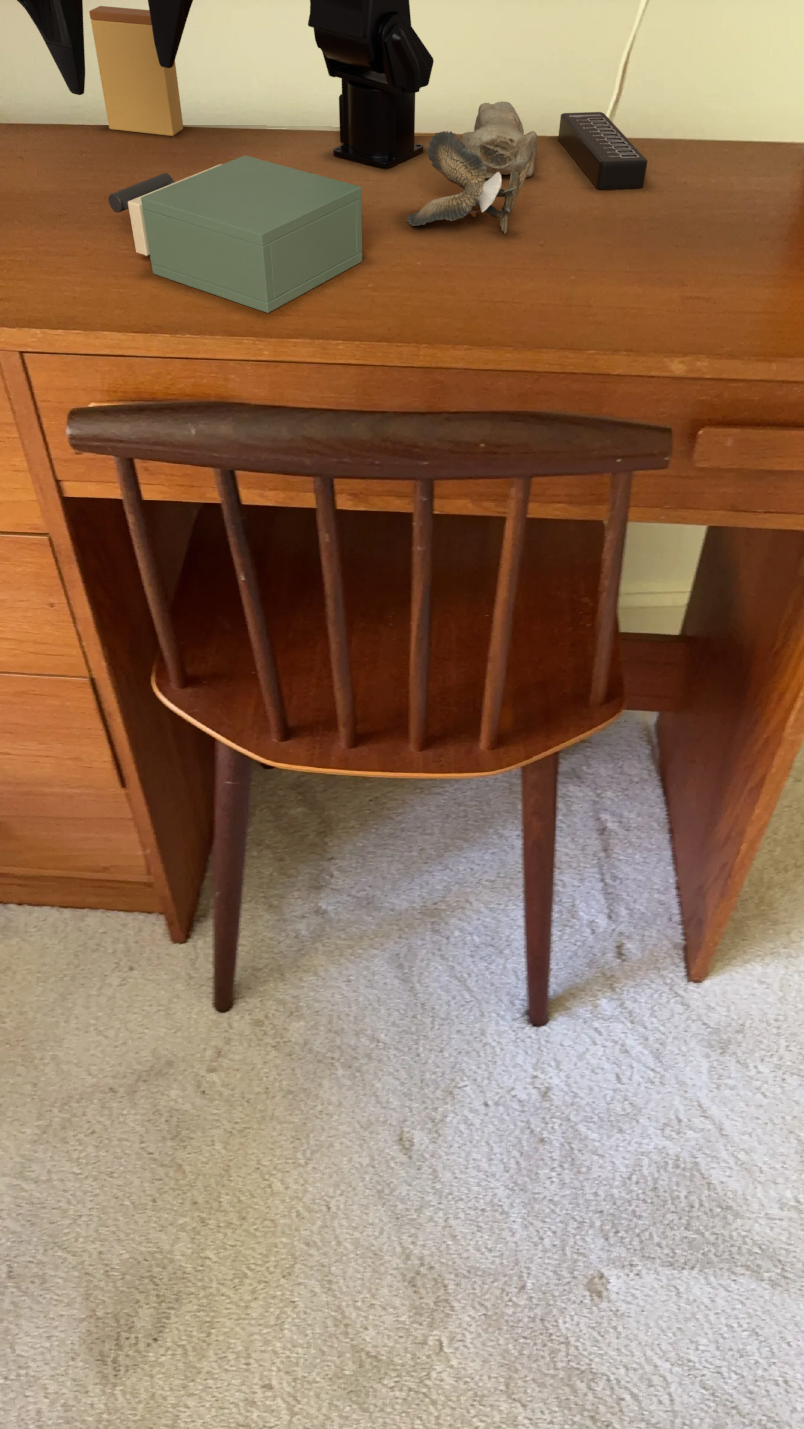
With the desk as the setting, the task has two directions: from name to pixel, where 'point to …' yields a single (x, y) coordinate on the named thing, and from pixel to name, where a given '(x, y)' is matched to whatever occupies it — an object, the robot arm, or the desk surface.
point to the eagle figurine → (466, 184)
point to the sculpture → (501, 140)
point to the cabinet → (254, 231)
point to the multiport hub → (602, 151)
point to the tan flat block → (134, 73)
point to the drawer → (140, 205)
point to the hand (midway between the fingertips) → (123, 79)
